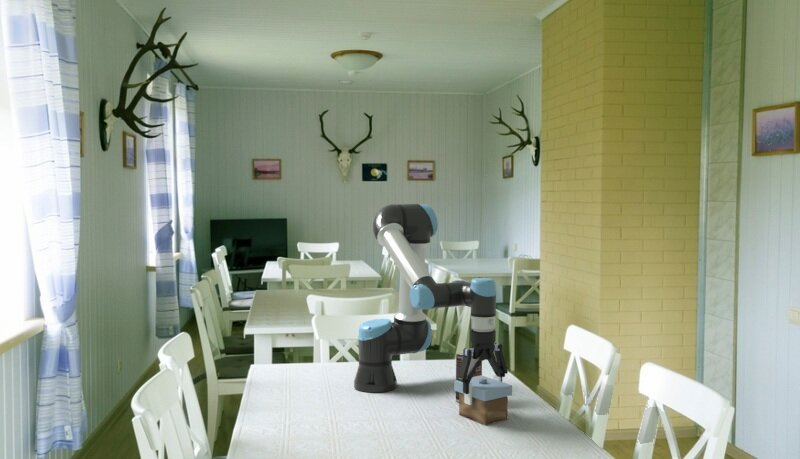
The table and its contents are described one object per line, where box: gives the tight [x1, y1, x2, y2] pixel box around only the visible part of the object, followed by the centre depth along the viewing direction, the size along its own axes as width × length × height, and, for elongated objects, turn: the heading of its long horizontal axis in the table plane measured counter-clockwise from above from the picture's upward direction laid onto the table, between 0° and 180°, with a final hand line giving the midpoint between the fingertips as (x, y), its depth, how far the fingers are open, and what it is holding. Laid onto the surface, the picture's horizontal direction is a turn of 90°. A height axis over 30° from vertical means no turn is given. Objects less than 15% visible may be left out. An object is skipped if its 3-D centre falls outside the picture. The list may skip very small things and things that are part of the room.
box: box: [458, 393, 509, 426], centre depth 219 cm, size 12×9×7 cm
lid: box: [453, 374, 513, 401], centre depth 219 cm, size 14×11×5 cm
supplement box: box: [455, 352, 483, 403], centre depth 237 cm, size 9×5×16 cm, turn 137°
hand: (482, 400), depth 219 cm, fingers closed on lid, 11 cm apart
